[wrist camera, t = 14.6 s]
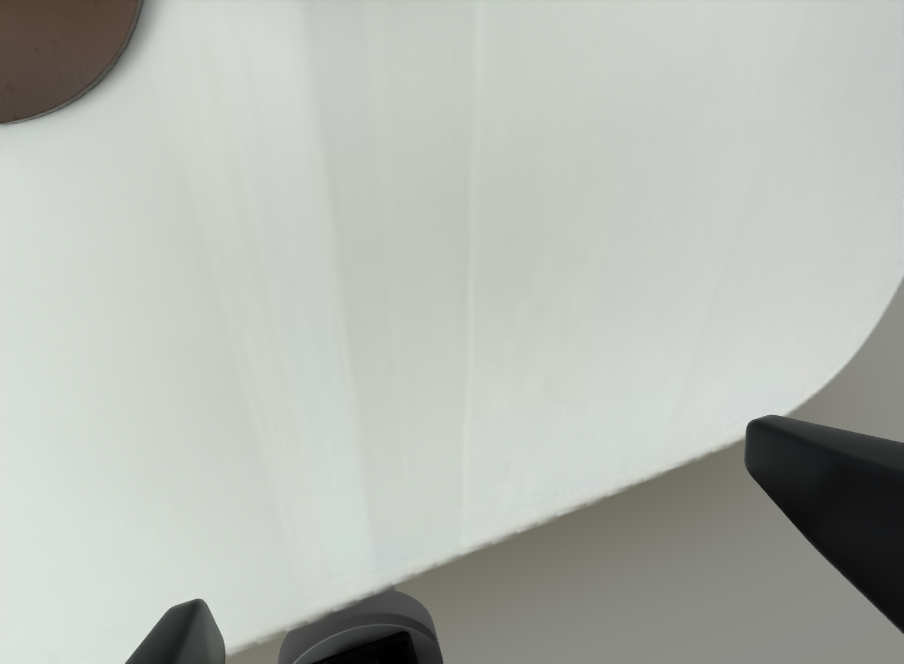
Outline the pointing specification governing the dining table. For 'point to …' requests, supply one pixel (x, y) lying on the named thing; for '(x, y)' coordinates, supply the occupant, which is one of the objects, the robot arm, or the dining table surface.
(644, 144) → the dining table surface
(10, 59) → the coaster
